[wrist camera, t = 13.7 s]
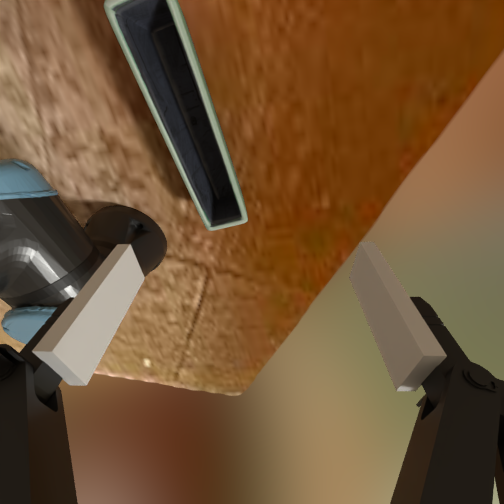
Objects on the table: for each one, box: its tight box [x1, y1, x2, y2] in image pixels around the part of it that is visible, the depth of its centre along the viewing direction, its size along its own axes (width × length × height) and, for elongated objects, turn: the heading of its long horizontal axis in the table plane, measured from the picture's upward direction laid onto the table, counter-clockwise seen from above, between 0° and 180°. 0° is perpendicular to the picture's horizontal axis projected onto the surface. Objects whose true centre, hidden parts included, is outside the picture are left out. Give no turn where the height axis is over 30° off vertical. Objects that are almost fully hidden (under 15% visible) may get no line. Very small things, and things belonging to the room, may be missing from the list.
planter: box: [104, 0, 248, 231], centre depth 33 cm, size 28×7×7 cm, turn 16°
